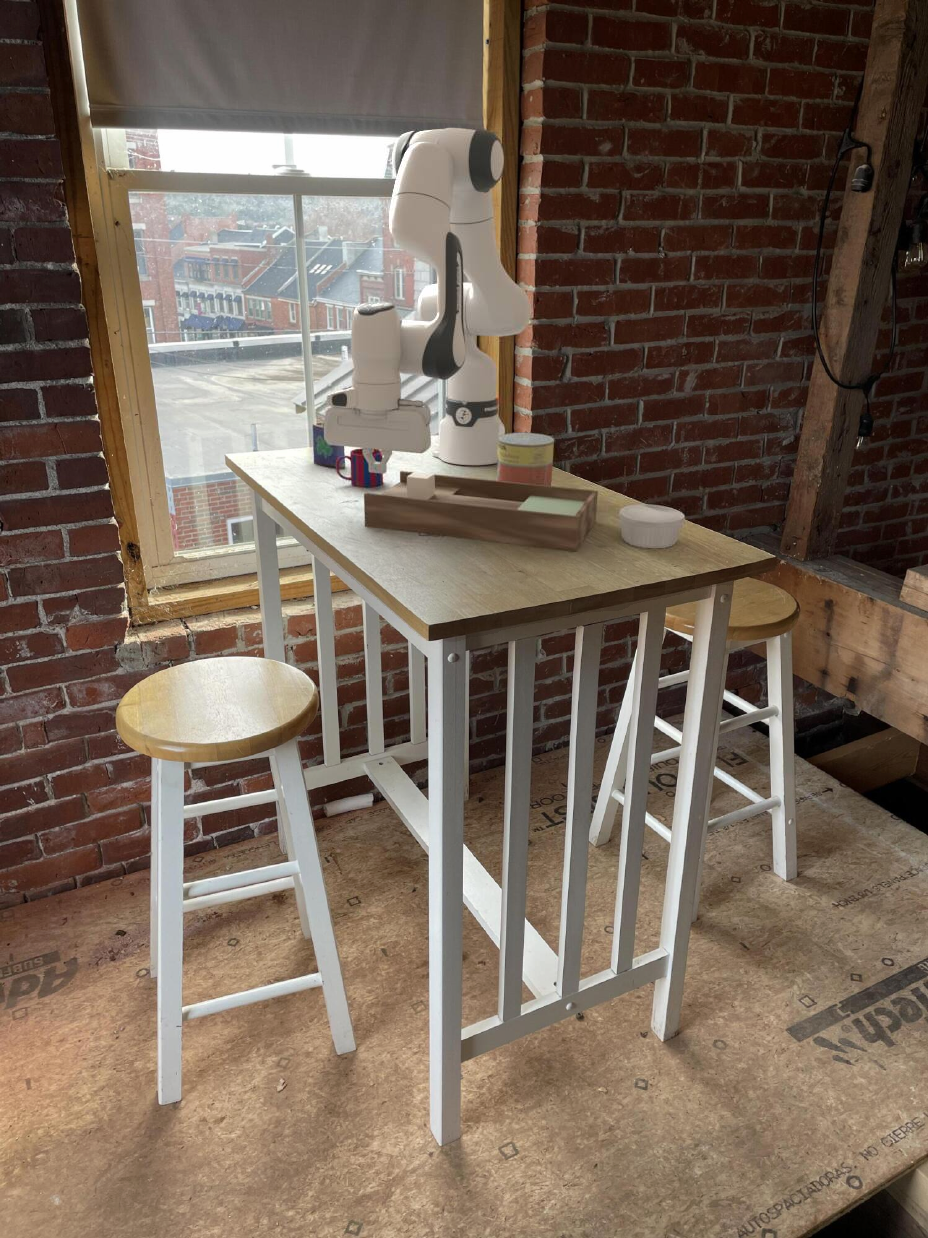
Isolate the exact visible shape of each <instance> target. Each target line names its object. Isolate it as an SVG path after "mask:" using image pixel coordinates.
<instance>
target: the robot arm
mask: <svg viewBox="0 0 928 1238" xmlns="http://www.w3.org/2000/svg"><path fill="white" fill-rule="evenodd" d="M504 157H505V156H504V149H503V144H502V141H501V139H500V138H499V137H498V135H497V134H496V133H495V132H494V131H490V130H487V129H482V128H477V129H476V130H474V129H471V128H469V129H468V128H460V127H446V128H440V129H439V128H438V129H429V130H423V131H422V130H421V131H420V130H417V129H416V130H412V131H407V132H405V133H402V134H401V135H400V136H399V138H398V139H397V140H396V141H395V143H394V145H393V148H392V154H391V161H392V162H391V164H392V165H391V167H392V170H393V171H392V172H393V175H394V177H395V179H396V180H395V183H394V187H393V192H392V197H391V203H390V208H389V217H388V220H389V221H388V225H389V232H390V235H391V236H392V238H393V240H394V242H395V243H396V244H397V245H398V246H399V248H401V250H402V251H404V252H405V253H407V254H408V255H409V256H411V257H412V258H414V259H416V260H417V261H421V262H422V263H424V264H427V265H428V266H430V267H432V268H433V269H434V271H435V272H436V278H437V279H436V281H437V282H436V283H434V284H429V285H426V286H425V287H424V288H423V290H422V291H421V293H420V295H419V297H418V301H417V307H416V308H417V309H416V310H417V315H418V318H419V320H409V319H403V318H402V317H400V316H399V313H398V309H397V306H396V305H395V304H394V303H393V302H389V301H377V300H376V301H370V302H365V303H361V304H360V305H358V306H357V307H356V308H354V311H353V317H352V322H351V334H350V335H351V336H350V356H351V359H352V362H353V363H352V364H353V372H352V376H351V386H348V387H344V388H343V389H340V390H337V391H334V392H331V393H330V394H328V395H327V396H326V403H327V405H328V406H329V407H328V408H327V409H326V411H325V413H324V421H323V422H324V439H325V440H326V442H327V443H328V444H329V445H337V446H344V447H348V448H357V449H360V448H363V455H364V457H365V459H366V461H367V462H368V463H369V472H373V473H382V474H383V475H384V474H387V466H388V465H387V464H388V462H389V461H390V458H392V455H393V452H401V453H410V454H411V453H412V454H423V453H426V452H427V451H428V450H429V449H430V448H431V446H432V437H431V436H432V435H431V428H430V423H431V417H432V415H431V407H429V406H428V404H426V403H424V401H422V400H411V399H406V398H405V399H404V398H402V379H401V375H400V374H403V375H408V376H409V375H410V376H411V375H412V376H422V377H423V376H424V377H427V378H432V379H436V380H442V381H446V380H447V397H445V404H444V405H445V406H444V407H445V414H446V415H445V416H444V418H442V420H441V421H440V422H439V428H438V429H439V431H438V432H439V433H438V443H437V444H438V446H437V447H438V448H437V449H435V450H433V451H432V457H435V458H439V460H441V461H443V462H445V463H449V464H454V465H463V466H485V465H486V466H487V465H493V464H497V454H498V437H499V436H500V435H503V434H506V428H505V424H503V422H502V420H501V418H500V416H499V415H498V413H499V405H500V397H499V396H497V373H498V372H497V364H496V363H495V361H494V360H493V358H492V357H491V356H489V355H488V354H487V353H485V352H483V351H481V350H480V349H479V347H478V346H477V345H476V343H475V339H474V336H481V337H483V336H484V337H501V338H502V337H507V336H514V335H519V334H521V333H522V332H523V331H524V330H525V329H526V327H527V326H528V324H529V322H530V320H531V319H530V318H531V315H532V305H531V301H530V298H529V295H528V294H527V293H526V291H525V290H524V289H523V288H522V287H520V286H519V285H518V284H517V283H516V282H515V281H513V279H512V278H511V276H510V275H509V274H508V273H507V271H506V270H505V268H504V265H503V264H502V262H501V259H500V256H499V253H498V248H497V240H496V239H497V238H496V228H495V226H496V225H495V213H494V202H493V201H494V200H493V193H492V189H494V187H495V186H496V185H497V184H498V183H499V181H501V178H502V175H503V171H504V170H503V169H504V162H505V161H504V160H505V158H504ZM464 275H465V276H466V278H467V280H469V282H464ZM374 449H379V450H381V455H382V456H383V459H382V461H381V462H375V459H374V457H373V455H372V452H374Z"/></svg>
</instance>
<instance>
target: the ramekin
mask: <svg viewBox="0 0 928 1238" xmlns="http://www.w3.org/2000/svg"><path fill="white" fill-rule="evenodd" d="M618 515H619V516H618V517H619V519H620V533H621V538H622V539H623V540H624V542H626V544H628V543H629V544H628V545H630V546H632V545H633V547H636V546H637V547H636V548H640V547H641V549H647V548H663V549H667V548H666V547H668V548H670V547H669V546H671V547H673V546H674V545H675V544H676V543H677V541H678V539H679V535H680V534H681V530H682V527H683V525H684V523H685V520H686V516H685V514H684V513H683V512H682V511H680V510H677V509H674V508H672V507H668V506H664V505H657V504H643V503H642V504H639V503H638V504H632V505H631V504H630V505H626V506H624V507H622V508H621V509H620V510H619V514H618ZM672 545H673V546H672Z"/></svg>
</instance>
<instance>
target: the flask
mask: <svg viewBox="0 0 928 1238" xmlns="http://www.w3.org/2000/svg"><path fill="white" fill-rule="evenodd" d="M324 418H325V417H324ZM324 418H321V419H322V421H320V422H316V423H315V422H314V423H313V424H312V444H313V446H312V448H313V451H312V452H313V453H312V454H313V464H314V465H317V466H320V467H326V468H330V469H335V470H336V461H337V459H338V458H339V457H340V456H346V453H345V446H337V445H329V444H328V443H327V442H326V440H325V439H324ZM338 467H339V470H343V469H346V458H342V459H341V460H340V462H339V466H338Z"/></svg>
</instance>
